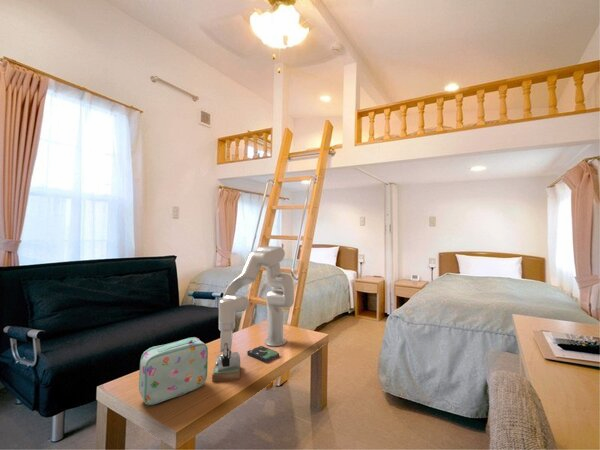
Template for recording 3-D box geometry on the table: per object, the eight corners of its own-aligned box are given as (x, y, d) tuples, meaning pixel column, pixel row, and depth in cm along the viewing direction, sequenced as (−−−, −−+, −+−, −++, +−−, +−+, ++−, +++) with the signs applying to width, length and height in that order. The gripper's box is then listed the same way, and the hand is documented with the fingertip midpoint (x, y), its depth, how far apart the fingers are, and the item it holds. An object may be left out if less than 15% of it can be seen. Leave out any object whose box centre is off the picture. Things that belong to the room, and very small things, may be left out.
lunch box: (201, 376, 133) (201, 330, 134) (211, 385, 126) (211, 336, 126) (137, 400, 115) (137, 346, 115) (144, 411, 107) (144, 354, 108)
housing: (237, 361, 141) (237, 349, 141) (240, 367, 135) (240, 354, 135) (214, 366, 136) (214, 353, 136) (216, 371, 131) (216, 358, 131)
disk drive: (246, 356, 156) (265, 364, 147) (246, 351, 156) (265, 358, 147) (261, 350, 164) (279, 357, 154) (260, 345, 164) (279, 351, 155)
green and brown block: (215, 369, 140) (215, 362, 141) (240, 367, 142) (240, 360, 143) (212, 381, 129) (212, 374, 129) (239, 379, 131) (239, 371, 131)
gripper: (220, 320, 144) (220, 354, 144) (216, 332, 127) (216, 371, 127) (235, 319, 145) (235, 353, 145) (234, 331, 128) (234, 369, 128)
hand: (226, 361), depth 136 cm, fingers open, 9 cm apart
